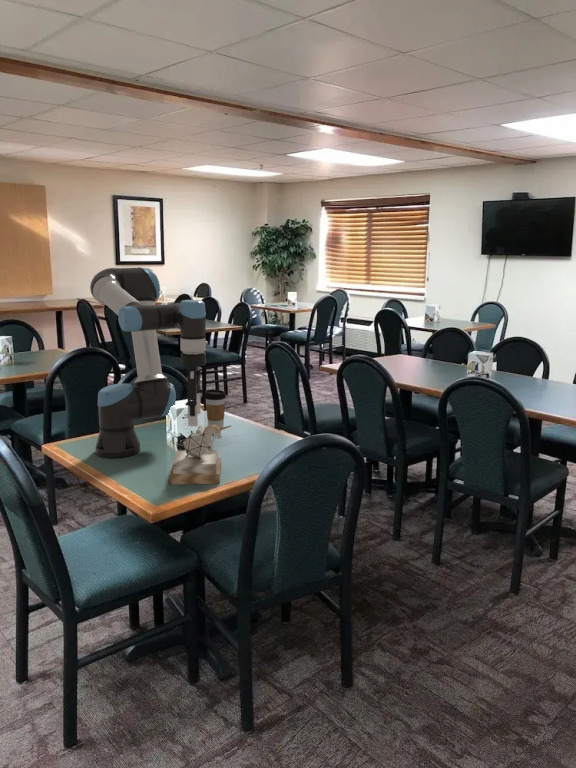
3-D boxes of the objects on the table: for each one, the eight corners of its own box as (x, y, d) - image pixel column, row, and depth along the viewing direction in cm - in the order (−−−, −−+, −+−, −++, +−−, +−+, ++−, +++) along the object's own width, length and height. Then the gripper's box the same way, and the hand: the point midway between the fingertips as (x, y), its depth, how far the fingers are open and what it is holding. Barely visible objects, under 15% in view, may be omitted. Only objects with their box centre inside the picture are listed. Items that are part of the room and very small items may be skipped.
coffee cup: (210, 424, 252) (209, 388, 249) (229, 425, 250) (229, 389, 247) (201, 429, 245) (201, 392, 241) (222, 431, 242) (221, 394, 239)
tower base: (169, 484, 188) (169, 465, 186) (174, 467, 202) (174, 449, 201) (219, 483, 189) (219, 464, 187) (221, 466, 203) (220, 449, 202)
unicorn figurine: (213, 468, 201) (212, 429, 199) (184, 453, 217) (183, 416, 214) (232, 464, 206) (231, 425, 203) (202, 449, 221) (202, 413, 218)
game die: (191, 467, 196) (183, 438, 199) (216, 457, 196) (207, 428, 199) (182, 462, 188) (174, 431, 191) (208, 452, 187) (199, 422, 191)
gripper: (203, 359, 175) (204, 431, 180) (208, 345, 199) (208, 408, 204) (176, 359, 175) (178, 431, 179) (184, 344, 199) (185, 408, 204)
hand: (194, 419), depth 192 cm, fingers open, 13 cm apart
